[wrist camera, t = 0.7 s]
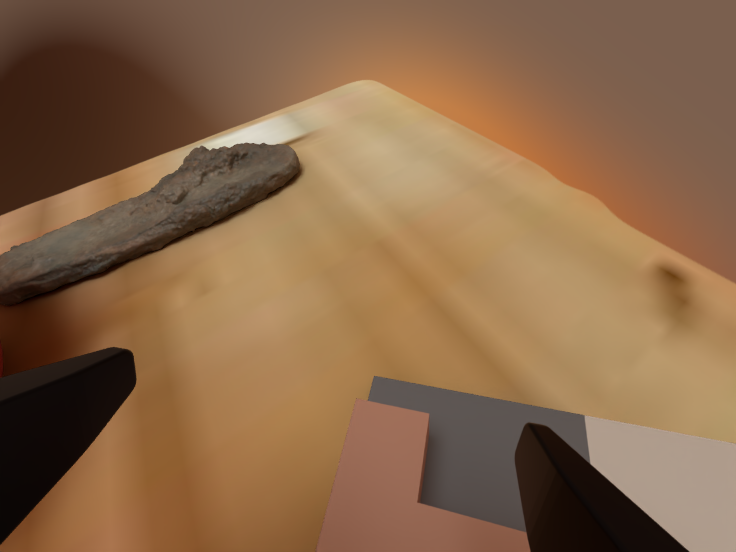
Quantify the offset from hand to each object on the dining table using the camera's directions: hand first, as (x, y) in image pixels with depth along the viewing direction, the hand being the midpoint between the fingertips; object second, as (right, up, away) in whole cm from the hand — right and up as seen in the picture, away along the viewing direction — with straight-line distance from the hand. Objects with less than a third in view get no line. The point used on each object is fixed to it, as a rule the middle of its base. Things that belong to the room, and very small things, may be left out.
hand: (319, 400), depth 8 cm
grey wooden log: (-23, +8, +33) cm, 41 cm away
